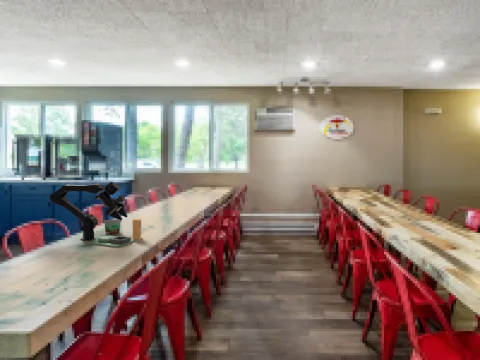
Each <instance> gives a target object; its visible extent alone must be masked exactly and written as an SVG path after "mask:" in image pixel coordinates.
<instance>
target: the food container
mask: <svg viewBox="0 0 480 360" xmlns="http://www.w3.org/2000/svg"><path fill="white" fill-rule="evenodd" d="M121 223H122V220H119V219H116V218H114V219H113V218H112V219H110V220H109V219H104V220H103V224H104V231H105V232H104V233H105V235H106V236H115V235H118V234H120V232H121V231H120V230H121Z"/></svg>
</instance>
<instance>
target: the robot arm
mask: <svg viewBox="0 0 480 360" xmlns="http://www.w3.org/2000/svg"><path fill="white" fill-rule="evenodd" d="M120 189H121V188H120V186H119V185H118V184H117V183H115V182H113V181H110V182H109V183H108V184H107V185H106V186H104V185H102V184H101V183H95V184H87V185H86V184H64V185H62V186H61V187H60V188H59V189H57V190H56V191H54V193H51V194H50V196H49V201H50V202H51V203H53V204H55V205H58V206H61V207H63V208H65V210H67V211H68V212H69V213H71V214H72V215H74V216H75V217H76V218H78V220H80V221H81V223H82V226H81V227H80V231H81V232H82V238H80V240H81V241H86V242H89V241H90V242H91V241H93V240H96V239H97V238H96V237H95V229H96V227H97V225H98V224H99V220H98V219H97V218H98V217H96V216H95V215H93V214H92V213H90V214H87V213H85V212H84V211H83V210H81V209H80V208H78V207H77V206H76V205H75V204H73V203H72V202H70V200H68V197H67V194H68V193H69V192H86V193H90V194H95V200H100V201H101V202H102V203H103V206H104V207H106V208H107V209H106V210H104V213H105V215H106V216H108V217H112V218H114V219H119V220H121V221H123V218H122V216H123V217H125V219H126V218H128V214H127V212H126V210H125V207H126V206H125V203H124V202H125V201H126V199H125V196H124V195H122V194H121V195H119V196H118V197H117V198H115V197H112V196H114V195H116V193H117V192H118V191H119V190H120Z"/></svg>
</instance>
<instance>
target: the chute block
mask: <svg viewBox="0 0 480 360" xmlns="http://www.w3.org/2000/svg"><path fill="white" fill-rule="evenodd" d="M141 239H142V218H133V219H132V240H141Z"/></svg>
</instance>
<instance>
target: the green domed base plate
mask: <svg viewBox="0 0 480 360" xmlns="http://www.w3.org/2000/svg"><path fill="white" fill-rule="evenodd" d="M135 240H136V239H132V237H131V236H124V235H119V236H116V235H105V236H104V235H103V236H100V237H98V238H97V240H96V239H95V240H94V241H93V240H92V241H90V243H89V244H90V245H95V246H102V247H103V246H104V247H110V248H120V247H121V248H122V247H123V246H126V245H129V244H132V243H134V242H135Z"/></svg>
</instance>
